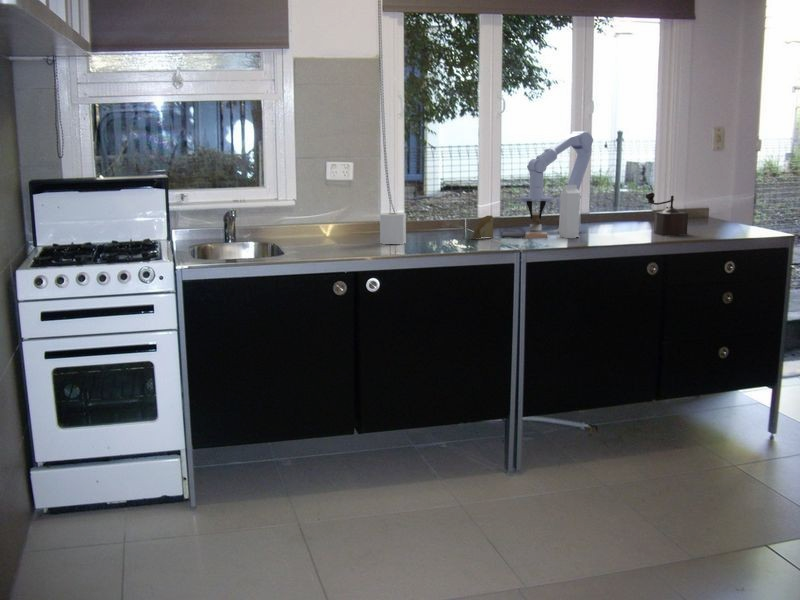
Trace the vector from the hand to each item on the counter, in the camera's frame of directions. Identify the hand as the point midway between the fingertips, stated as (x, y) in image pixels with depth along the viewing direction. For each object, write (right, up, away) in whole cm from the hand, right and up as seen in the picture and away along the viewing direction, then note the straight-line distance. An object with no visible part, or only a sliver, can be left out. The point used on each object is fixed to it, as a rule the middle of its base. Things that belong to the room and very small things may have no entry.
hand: (535, 218), depth 377 cm
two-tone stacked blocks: (0, -4, -2) cm, 5 cm away
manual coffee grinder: (+55, -7, -3) cm, 56 cm away
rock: (-24, -10, -12) cm, 29 cm away
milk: (+12, -9, -11) cm, 19 cm away
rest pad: (-11, -8, -6) cm, 14 cm away
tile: (-1, -7, -6) cm, 10 cm away
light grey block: (-62, -13, -25) cm, 68 cm away
